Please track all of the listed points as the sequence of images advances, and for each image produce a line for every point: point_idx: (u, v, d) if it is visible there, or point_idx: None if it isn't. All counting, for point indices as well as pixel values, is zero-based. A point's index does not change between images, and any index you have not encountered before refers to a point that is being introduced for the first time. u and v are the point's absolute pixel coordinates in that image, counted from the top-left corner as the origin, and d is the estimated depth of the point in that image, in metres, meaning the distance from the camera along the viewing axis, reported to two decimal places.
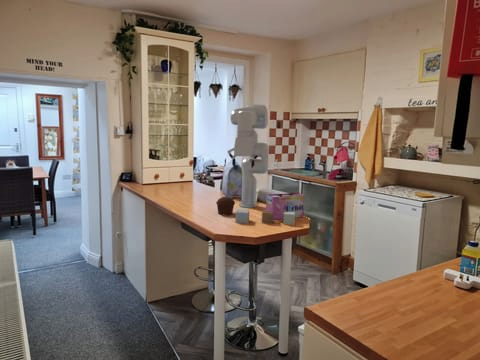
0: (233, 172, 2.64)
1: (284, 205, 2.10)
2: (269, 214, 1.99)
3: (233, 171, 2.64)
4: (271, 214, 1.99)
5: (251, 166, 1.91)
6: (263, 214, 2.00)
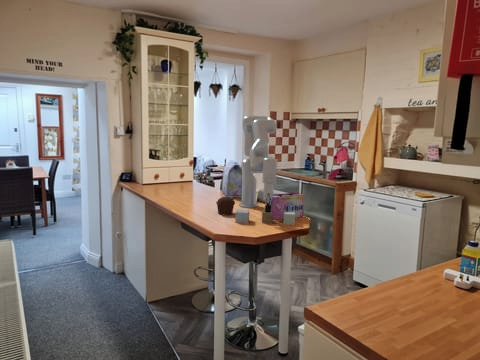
0: (233, 172, 2.64)
1: (284, 205, 2.10)
2: (269, 214, 1.99)
3: (233, 171, 2.64)
4: (271, 214, 1.99)
5: None
6: (263, 214, 2.00)
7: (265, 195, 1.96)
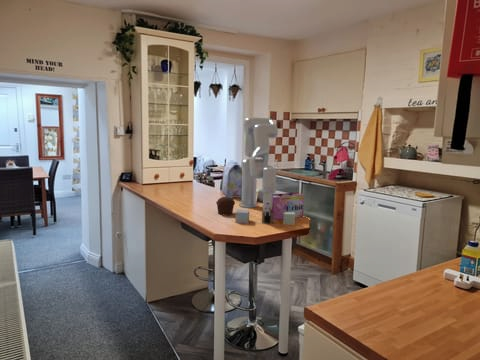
0: (233, 172, 2.64)
1: (285, 205, 2.10)
2: None
3: (233, 171, 2.64)
4: (271, 214, 1.99)
5: None
6: (263, 214, 2.00)
7: (264, 205, 1.97)
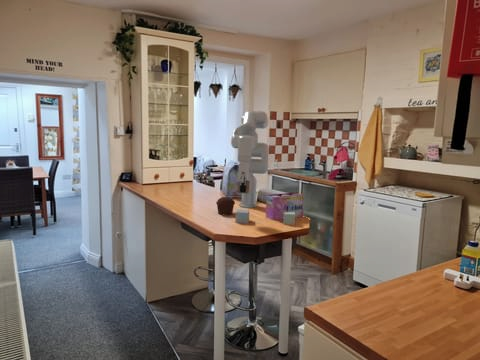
0: (233, 172, 2.64)
1: (285, 205, 2.10)
2: None
3: (233, 171, 2.64)
4: (247, 184, 1.96)
5: None
6: (239, 184, 1.97)
7: (240, 174, 1.94)
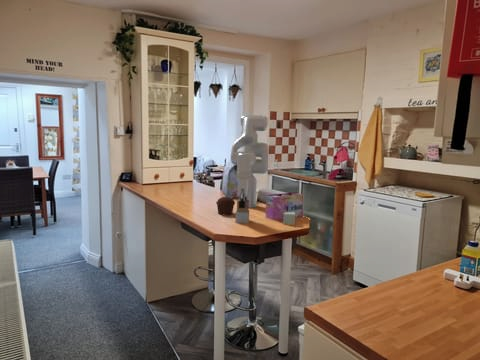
0: (233, 172, 2.64)
1: (285, 205, 2.10)
2: None
3: (233, 171, 2.64)
4: (246, 203, 1.98)
5: None
6: (238, 203, 1.98)
7: (239, 190, 1.95)
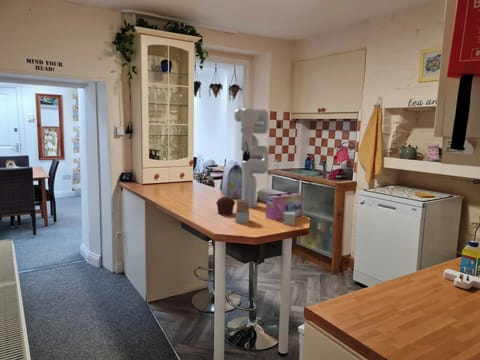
0: (233, 172, 2.64)
1: (285, 205, 2.10)
2: (244, 203, 1.98)
3: (233, 171, 2.64)
4: (246, 203, 1.98)
5: (249, 158, 2.14)
6: (238, 203, 1.99)
7: (243, 144, 2.03)
